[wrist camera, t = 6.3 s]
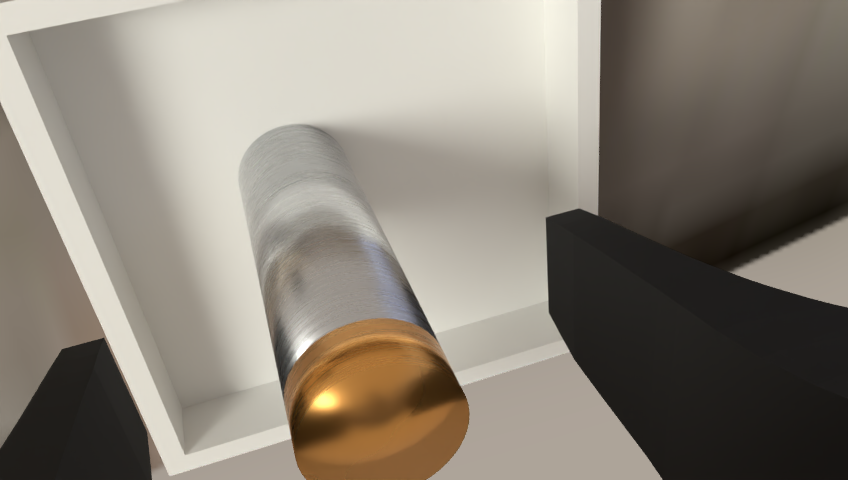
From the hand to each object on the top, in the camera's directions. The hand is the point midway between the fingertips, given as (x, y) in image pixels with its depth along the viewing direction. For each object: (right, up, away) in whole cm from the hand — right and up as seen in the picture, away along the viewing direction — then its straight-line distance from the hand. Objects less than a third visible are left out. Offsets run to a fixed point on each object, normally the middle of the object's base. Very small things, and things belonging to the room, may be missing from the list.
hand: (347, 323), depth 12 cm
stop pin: (-2, +3, +4) cm, 5 cm away
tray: (-1, +3, +5) cm, 6 cm away
